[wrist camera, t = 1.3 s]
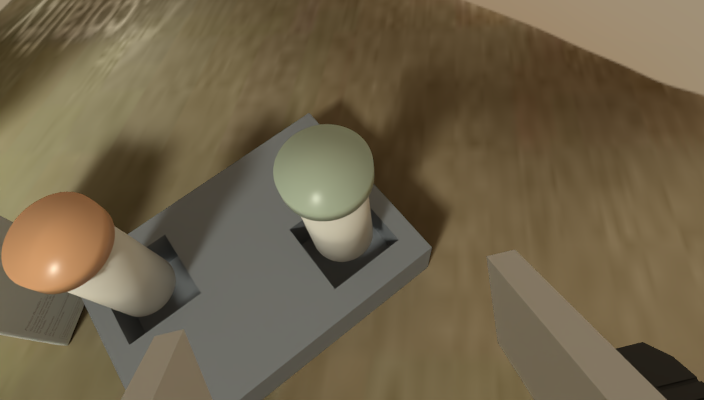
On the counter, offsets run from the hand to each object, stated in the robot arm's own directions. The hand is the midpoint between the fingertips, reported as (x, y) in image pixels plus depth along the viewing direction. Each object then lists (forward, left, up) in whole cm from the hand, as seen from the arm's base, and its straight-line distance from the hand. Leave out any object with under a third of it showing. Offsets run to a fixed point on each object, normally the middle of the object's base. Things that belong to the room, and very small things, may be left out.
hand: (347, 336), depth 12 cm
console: (-13, -2, -25) cm, 28 cm away
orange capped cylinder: (-16, -9, -20) cm, 27 cm away
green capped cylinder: (-10, +5, -20) cm, 22 cm away
